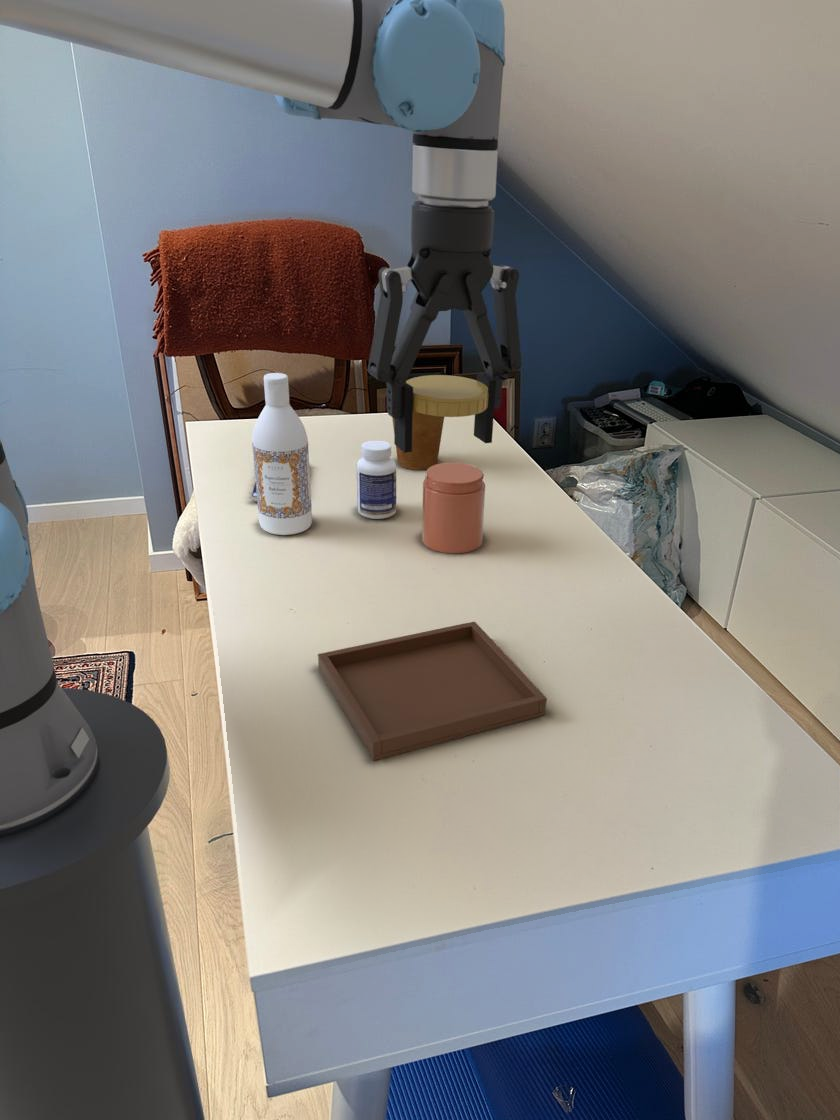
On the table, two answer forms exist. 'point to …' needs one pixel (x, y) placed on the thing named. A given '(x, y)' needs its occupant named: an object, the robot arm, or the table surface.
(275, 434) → the bath foam
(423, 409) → the lid
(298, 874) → the table surface
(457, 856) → the table surface
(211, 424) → the table surface
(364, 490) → the pill bottle
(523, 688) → the tray
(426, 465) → the disposable coffee cup
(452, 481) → the jar
